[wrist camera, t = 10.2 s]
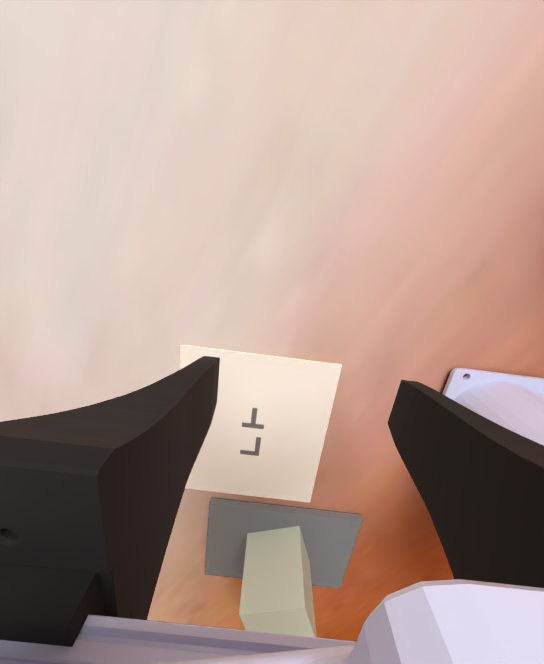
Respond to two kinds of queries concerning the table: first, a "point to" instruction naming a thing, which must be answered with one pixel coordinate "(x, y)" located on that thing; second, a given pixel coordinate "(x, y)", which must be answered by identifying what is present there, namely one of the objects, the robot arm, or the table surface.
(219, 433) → the card
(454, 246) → the table surface
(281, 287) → the table surface
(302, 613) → the sage block
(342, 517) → the slate mat
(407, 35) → the table surface
